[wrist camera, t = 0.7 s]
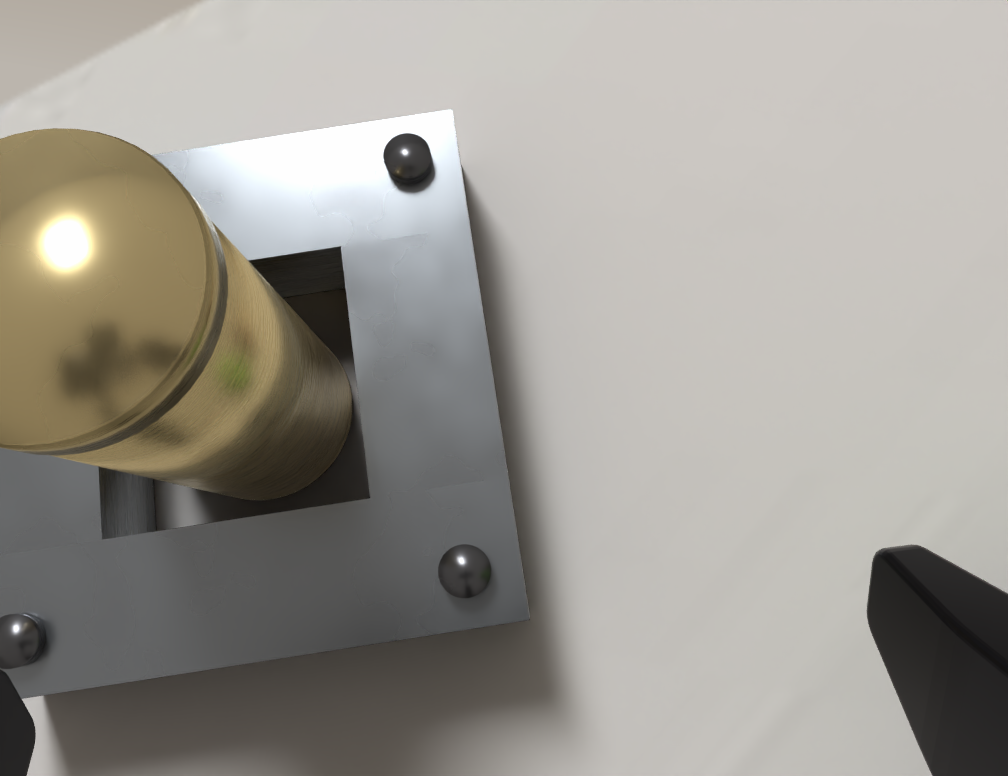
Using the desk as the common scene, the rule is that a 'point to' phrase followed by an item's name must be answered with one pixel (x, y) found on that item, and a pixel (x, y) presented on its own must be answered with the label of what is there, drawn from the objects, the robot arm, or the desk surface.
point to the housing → (310, 531)
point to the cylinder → (150, 330)
